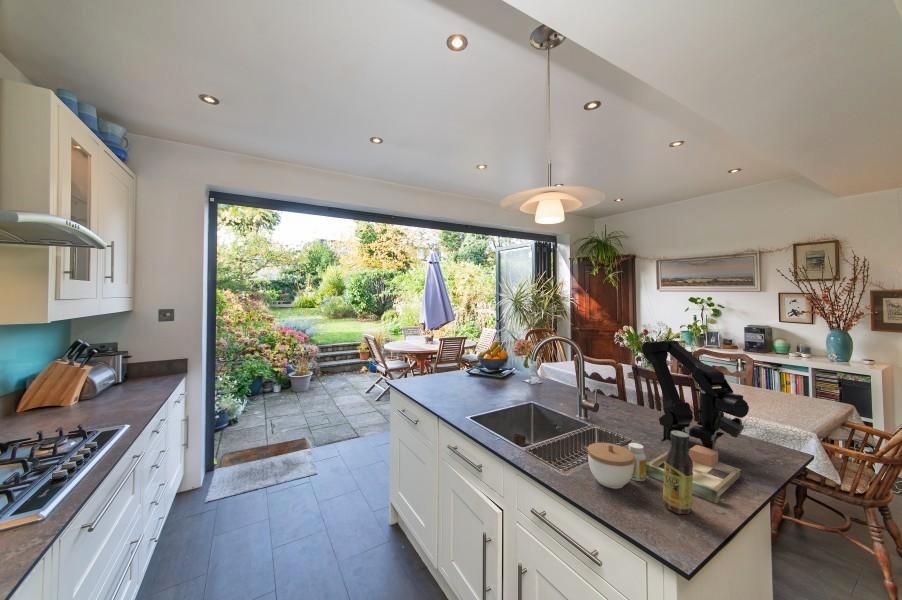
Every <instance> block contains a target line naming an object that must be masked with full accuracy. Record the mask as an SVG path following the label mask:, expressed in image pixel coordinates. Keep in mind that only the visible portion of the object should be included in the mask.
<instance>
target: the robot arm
mask: <svg viewBox="0 0 902 600" xmlns="http://www.w3.org/2000/svg"><path fill="white" fill-rule="evenodd" d="M641 351H642V353H643V356H644V357H645V359H646V360H647V361H648V362H649V363H650V364H651V365H652V367H653V370H654V372H655V375H656V379H657V381H658V385H659V387H660V390H661V393H662V395H663V398H664V401H665V402H664V404H663V412H664V414H663V415H661V417H659V418H658V421H659V425H660V426H662V427H663V431H662V432H663V437H662V439H661V442H666V441H667V440H668V441H669V442H671V437H670V433H671V431H681V432H684V433H687V434H688V435H689V437H693V438H695V439H699V440H700V441H701V443H702V446H703V447H706V448H709V449H712V450H715V446H716V443H717V440H718V439H720V437H722V436H723V435H725V433H727V434H729V436H730V437H732V438H735V439H736V438H738V437H739V436H741V434H742V432H743V430H745V426H744V425H743V422H742V418H744V417H746V416H747V415H748V413H749V410H750V406H749V404H748V402H747V401H746V400H745V399H744V395H742V394H736V393H734V389H732V387H731V385H730V384H729V382H728V381H727V379H726V378H725V374H724V373H723V372H722V371H721V370H719V369H718V368H715V366H712V365H709V364H706V363H704V362H702V361H701V360H700V359H698V358H697V357H696V356H695V355H694V354H692V353H691V352H689V350H687V349H686V348H684V346H682V345H681V344H680V342H679V341H677V340H675V339H669V340H667V339H666V340H664V341H659V340H655V341H652V340H651V341H645V342H644V343H642V346H641ZM668 355H671V356H672V357H673V358H674V359H675V360H677V361H678V362H679V363H680V364H681V365H683V367H685V368H686V369H687V370H688V371H689V372H690V375H691V377H692V380H694V381H695V383H696V384H697V386H696V387H694V388H693V391H695V392H698V393H699V408H698V409H697V413H699V420H697V421H696V422H697V423H696V424H697V425H694V426H692V427H690V425H691V423H692V422H693V420H694V415H693V414H694V412H693V411H692V409H691V405H690V403H689V402H684V400H682V399H681V397H680V393H679V392H678V389H677V386H676V384H675V382H674V378H673V376H672V373H671V371H670V368H669V366H668V363H667V362H668V361H667V360H668ZM725 414H727V415H730V416H733V417H734V418H732V419H731V418H730V417H726V416H725ZM689 427H690V428H689ZM686 428H689V429H688V432H687V431H686ZM720 430H721V431H723V432H721V431H720Z"/></svg>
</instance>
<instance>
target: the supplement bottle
mask: <svg viewBox="0 0 902 600" xmlns="http://www.w3.org/2000/svg"><path fill="white" fill-rule="evenodd" d="M628 450H630V451H631V452H632V453H633V454H634V456H635V461H634V471H633V475H632V478H631V479H630V480H632V481H636V482H645V480H646V479H647V475H646V464H647V456H646V453H644V451H645V449H644V445H643V444H640V443H637V442H629V443H628Z"/></svg>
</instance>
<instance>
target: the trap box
mask: <svg viewBox="0 0 902 600" xmlns="http://www.w3.org/2000/svg"><path fill="white" fill-rule="evenodd" d="M668 452H669V450H667V451H666V452H664V453H662V454H661V455H659V456H657V457H655V458H654V459H652V460H651V461H649V462H646V476H649V477H651V478H654V479H655V480H659V481H661V482H663V483H664V467H660V466H661V465H662V464H663V465H664V461H665V458H666V456H667V454H668ZM688 454H689V451H688ZM692 462H693V471H692V472H693V484H692V495H694V496H698V497H700V498H702V499H705V500H707V501H710V502H712V503H715V504H717V503H718V502H719V501H720V500H721V499H722V497H721V495H722V494H723V493H725V492H726V491H727V490H728V488H730V487H731V486H732V485H733V484H734V483H735V482H737V480H738V479H739V478H740V475H741V474H740V473H741V471H742V469H741V468H737V467H736V466H735V467H734V466H731V465H728V464H726V463H723V462H719V461H718V463H716V464H715V465H714V466H712V467H709V466H706V465H703V464H700V463H697V462H694V461H692ZM713 469H715V470H718V471H721V472H722V473H723V472H724V473H726V474H728V475H727V476H725V477H724V479H723V478H721V477H718V476H715V475H712V474H710V473H709V472H710V471H712V470H713Z"/></svg>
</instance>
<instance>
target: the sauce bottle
mask: <svg viewBox="0 0 902 600" xmlns="http://www.w3.org/2000/svg"><path fill="white" fill-rule="evenodd" d="M670 437H671V441H670V446H669V447H670V448H669V450H668V451H669V452H668V454H667V456H666V458H665V461H664V463H663V468H664V482H663V485H662V486H663V489H662V498H663V499H662V500H663V502H662V503H663V505H664V507H665V508H666V509H668V510H670V511H671V512H673V513H675V514H678V515H679V514H681V515H688V514H690V513H691V511H692V504H693V503H692V502H693V494H692V484H693V472H692V471H693V462H692V459H691V458H690V456H689V454H688V452H689V441H690V435H689V433H688V432H687V433H684V432H681V431H671V433H670Z"/></svg>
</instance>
